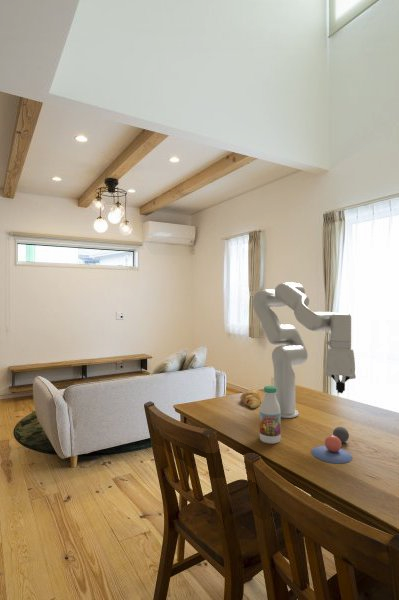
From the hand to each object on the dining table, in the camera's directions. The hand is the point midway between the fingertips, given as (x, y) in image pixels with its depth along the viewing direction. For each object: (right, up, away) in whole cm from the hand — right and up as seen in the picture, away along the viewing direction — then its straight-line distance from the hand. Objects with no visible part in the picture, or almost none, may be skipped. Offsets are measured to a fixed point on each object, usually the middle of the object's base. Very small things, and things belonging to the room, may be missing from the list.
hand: (340, 392), depth 134 cm
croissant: (-29, -17, +43) cm, 54 cm away
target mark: (-9, -17, -16) cm, 25 cm away
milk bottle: (-28, -17, -4) cm, 33 cm away
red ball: (-8, -14, -13) cm, 21 cm away
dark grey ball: (-2, -14, -5) cm, 16 cm away
